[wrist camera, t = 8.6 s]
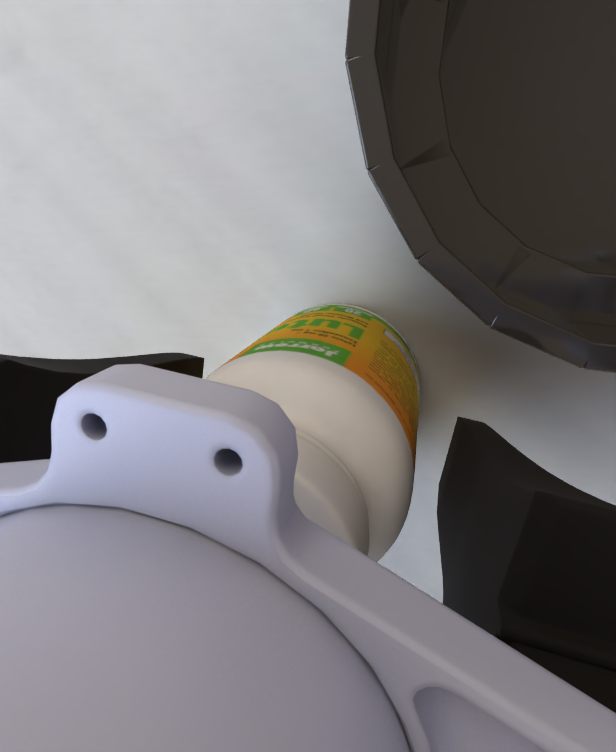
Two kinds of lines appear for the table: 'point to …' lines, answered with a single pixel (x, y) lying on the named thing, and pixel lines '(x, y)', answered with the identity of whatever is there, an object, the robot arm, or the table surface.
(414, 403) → the supplement bottle
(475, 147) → the bowl
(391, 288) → the table surface
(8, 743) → the robot arm
